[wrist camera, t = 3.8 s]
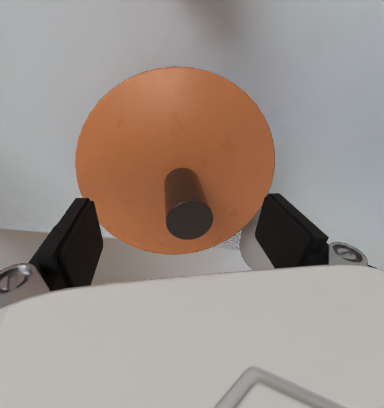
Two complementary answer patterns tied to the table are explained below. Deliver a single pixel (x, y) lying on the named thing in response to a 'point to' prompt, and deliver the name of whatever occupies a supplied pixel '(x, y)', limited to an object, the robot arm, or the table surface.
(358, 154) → the table surface
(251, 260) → the lightbulb
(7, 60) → the table surface
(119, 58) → the table surface
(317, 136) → the table surface
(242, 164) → the lid
